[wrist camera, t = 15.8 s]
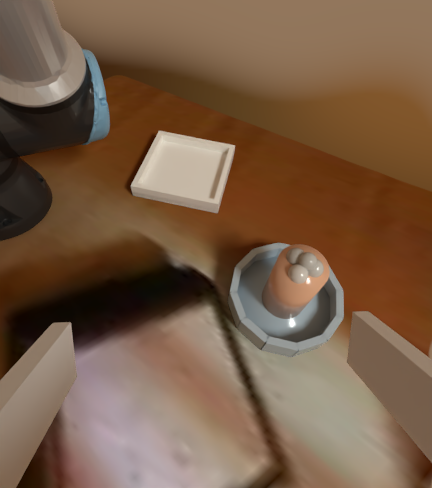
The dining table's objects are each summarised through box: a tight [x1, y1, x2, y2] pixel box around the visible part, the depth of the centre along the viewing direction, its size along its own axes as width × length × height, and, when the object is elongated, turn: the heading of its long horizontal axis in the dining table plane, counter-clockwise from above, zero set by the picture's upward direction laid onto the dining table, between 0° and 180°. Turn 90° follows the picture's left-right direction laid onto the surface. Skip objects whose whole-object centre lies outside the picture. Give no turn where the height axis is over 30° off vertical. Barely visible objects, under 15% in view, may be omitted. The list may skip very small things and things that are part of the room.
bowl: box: [228, 243, 344, 357], centre depth 44 cm, size 16×16×4 cm
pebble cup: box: [262, 244, 330, 319], centre depth 40 cm, size 6×6×12 cm
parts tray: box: [131, 131, 235, 213], centre depth 58 cm, size 16×16×2 cm
